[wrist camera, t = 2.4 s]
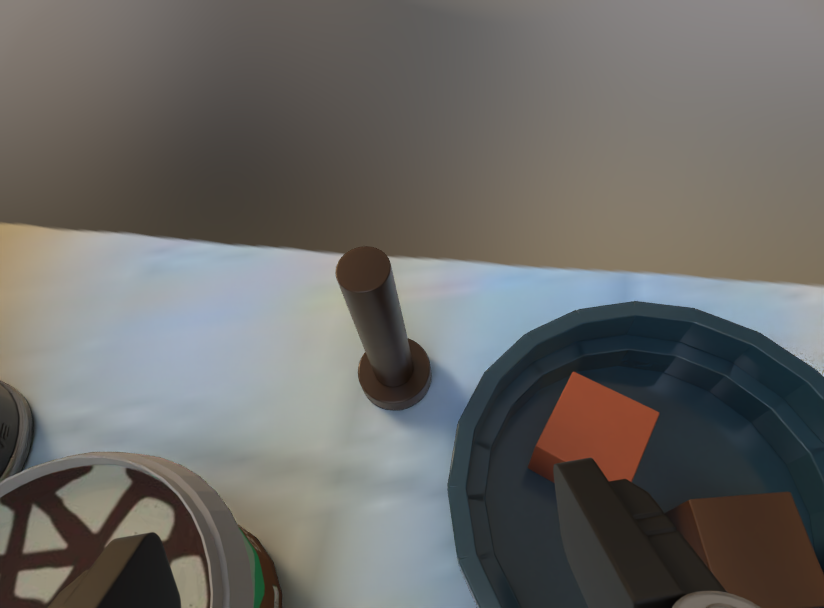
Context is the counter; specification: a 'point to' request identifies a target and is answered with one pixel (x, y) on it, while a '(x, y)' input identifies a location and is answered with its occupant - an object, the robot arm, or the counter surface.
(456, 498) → the bowl
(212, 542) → the food container
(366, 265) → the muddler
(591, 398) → the block
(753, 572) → the block
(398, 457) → the counter surface
